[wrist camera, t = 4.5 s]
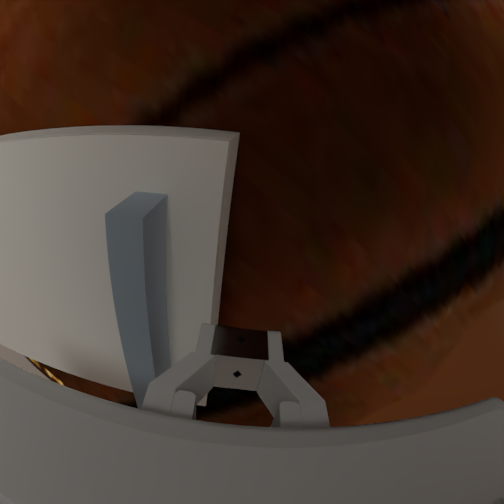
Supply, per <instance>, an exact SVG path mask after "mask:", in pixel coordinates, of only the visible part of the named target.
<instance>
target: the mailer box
mask: <svg viewBox="0 0 504 504" xmlns="http://www.w3.org/2000/svg"><path fill="white" fill-rule="evenodd" d="M75 134H158V135H177V136H191V137H203V138H214V139H223V140H231V141H230V149H229V157H228V165H227V173H226V181H225V190H224V198H223V207H222V216H221V226H220V235H219V245H218V256H217V266H216V277H215V288H214V300H213V313H212V324H213V325H218V317H219V307H220V296H221V286H222V277H223V267H224V258H225V249H226V240H227V231H228V223H229V214H230V206H231V198H232V190H233V182H234V174H235V166H236V159H237V151H238V144H239V137H240V132H232V131H223V130H213V129H202V128H189V127H172V126H145V125H107V126H81V127H65V128H53V129H43V130H34V131H26V132H18V133H12V134H6V135H2V136H0V142H1V141H8V140H16V139H24V138H34V137H44V136H57V135H75ZM207 395H208V393H207Z"/></svg>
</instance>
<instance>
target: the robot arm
mask: <svg viewBox="0 0 504 504" xmlns="http://www.w3.org/2000/svg"><path fill="white" fill-rule="evenodd" d="M213 387H223V388H235V389H243V390H251V391H257V393H258V395H259V396H260V398H261V399H262V401H263V402H264V404H265V405H266V407H267V408H268V410H269V411H270V413H271V414H272V416H273V417H274V419H273V421H272V424H271V426H270V427H257V426H243V425H232V424H222V423H214V422H206V421H199V420H196V405H197V404H198V403H199V402H200V401H201V399H202V398H203V397H204V396H205V395H206V394H207V393H208V392H209V391H210V390H211V389H212V388H213ZM0 504H504V402H503V401H501V400H500V399H498V398H495V397H492V398H488V399H485V400H482V401H479V402H476V403H472V404H469V405H465V406H462V407H458V408H454V409H451V410H446V411H442V412H438V413H433V414H429V415H424V416H419V417H414V418H408V419H402V420H396V421H389V422H381V423H373V424H364V425H352V426H338V427H330V424H329V419H328V413H327V408H326V403H325V400H324V399H323V398H322V397H321V396H320V395H319V394H318V393H317V392H316V391H315V390H314V389H313V388H312V387H311V386H310V385H309V384H308V383H307V382H306V381H305V380H304V379H303V378H302V377H301V376H300V375H299V374H298V373H297V372H296V370H295V369H294V368H293V367H292V366H291V365H290V364H289V363H288V362H284V357H283V348H282V338H281V333H280V332H279V331H263V330H253V329H243V328H235V327H228V326H221V325H213V324H207V323H202V325H201V329H200V334H199V338H198V343H197V347H196V352H191V353H189V354H188V355H187V356H185V357H184V358H183V359H181V360H180V361H179V362H177V363H176V364H175V365H173V366H172V367H171V368H169V369H168V370H167V371H165V372H164V373H163V374H161V375H160V376H158V377H157V378H156V379H154V380H153V381H152V382H150V383H149V386H148V389H147V392H146V395H145V398H144V401H143V404H142V407H141V409H137V408H133V407H129V406H125V405H122V404H118V403H114V402H111V401H107V400H104V399H101V398H97V397H94V396H91V395H88V394H85V393H82V392H79V391H76V390H74V389H71V388H68V387H65V386H63V385H60V384H58V383H55V382H52V381H50V380H47V379H45V378H43V377H40V376H38V375H36V374H33V373H31V372H29V371H27V370H24V369H23V368H20V367H18V366H16V365H14V364H12V363H10V362H8V361H6V360H4V359H2V358H0Z"/></svg>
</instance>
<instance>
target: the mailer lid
mask: <svg viewBox="0 0 504 504" xmlns="http://www.w3.org/2000/svg"><path fill="white" fill-rule="evenodd" d="M230 141H231V140H223V139H214V138H203V137H191V136H177V135H158V134H75V135H57V136H44V137H34V138H24V139H16V140H8V141H1V142H0V344H1V345H3V346H5V347H8V348H10V349H12V350H14V351H16V352H18V353H20V354H22V355H25V356H27V357H29V358H31V359H34V360H36V361H39V362H41V363H43V364H46V365H48V366H51V367H54V368H56V369H59V370H62V371H64V372H67V373H70V374H73V375H76V376H79V377H82V378H85V379H88V380H91V381H94V382H97V383H101V384H104V385H108V386H111V387H115V388H118V389H122V390H126V391H130V392H134V396H135V399H136V403H137V406H138V409H141V407H142V404H143V401H144V398H145V395H146V392H147V389H148V386H149V383H150V382H152V381H153V380H154V379H156V378H157V377H158V376H160V375H161V374H163V373H164V372H165V371H167V370H168V369H169V368H171V367H172V366H173V365H175V364H176V363H177V362H179V361H180V360H181V359H183V358H184V357H185V356H187V355H188V354H189V353H191V352H196V347H197V343H198V338H199V334H200V329H201V325H202V323H207V324H212V313H213V300H214V288H215V277H216V266H217V256H218V245H219V235H220V226H221V216H222V207H223V198H224V190H225V181H226V173H227V165H228V157H229V149H230ZM206 402H207V394H206V395H205V396H204V397H203V398H202V399H201V401H200V402H199V403H198V404H197V405H201V406H206Z"/></svg>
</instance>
